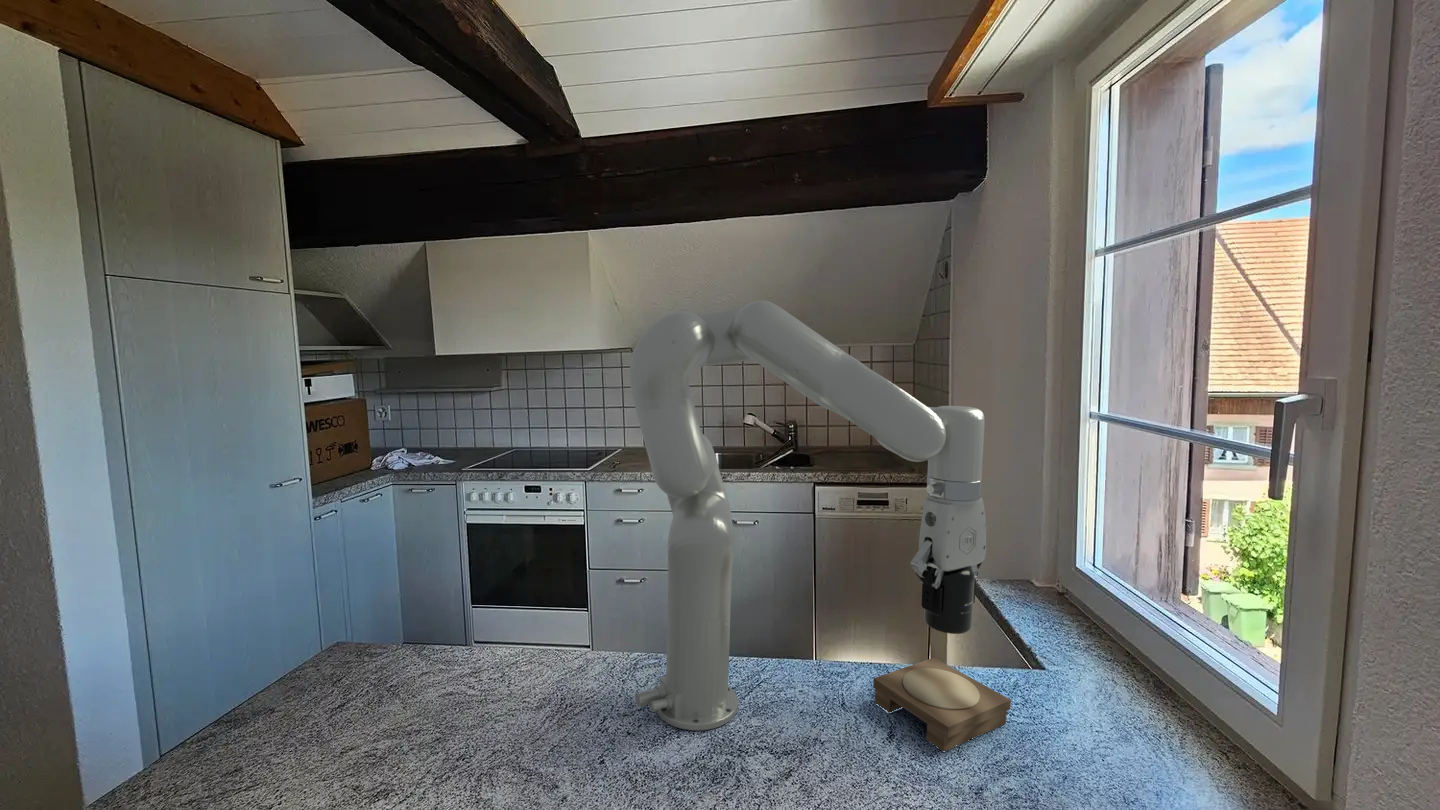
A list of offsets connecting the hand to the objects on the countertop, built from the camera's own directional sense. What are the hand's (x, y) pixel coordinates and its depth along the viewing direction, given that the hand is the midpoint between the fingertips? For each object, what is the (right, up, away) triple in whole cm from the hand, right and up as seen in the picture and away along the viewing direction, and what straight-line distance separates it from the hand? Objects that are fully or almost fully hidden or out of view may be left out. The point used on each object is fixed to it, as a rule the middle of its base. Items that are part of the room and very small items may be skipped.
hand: (948, 604), depth 89 cm
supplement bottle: (0, -3, 0) cm, 3 cm away
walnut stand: (-1, -17, +1) cm, 17 cm away
